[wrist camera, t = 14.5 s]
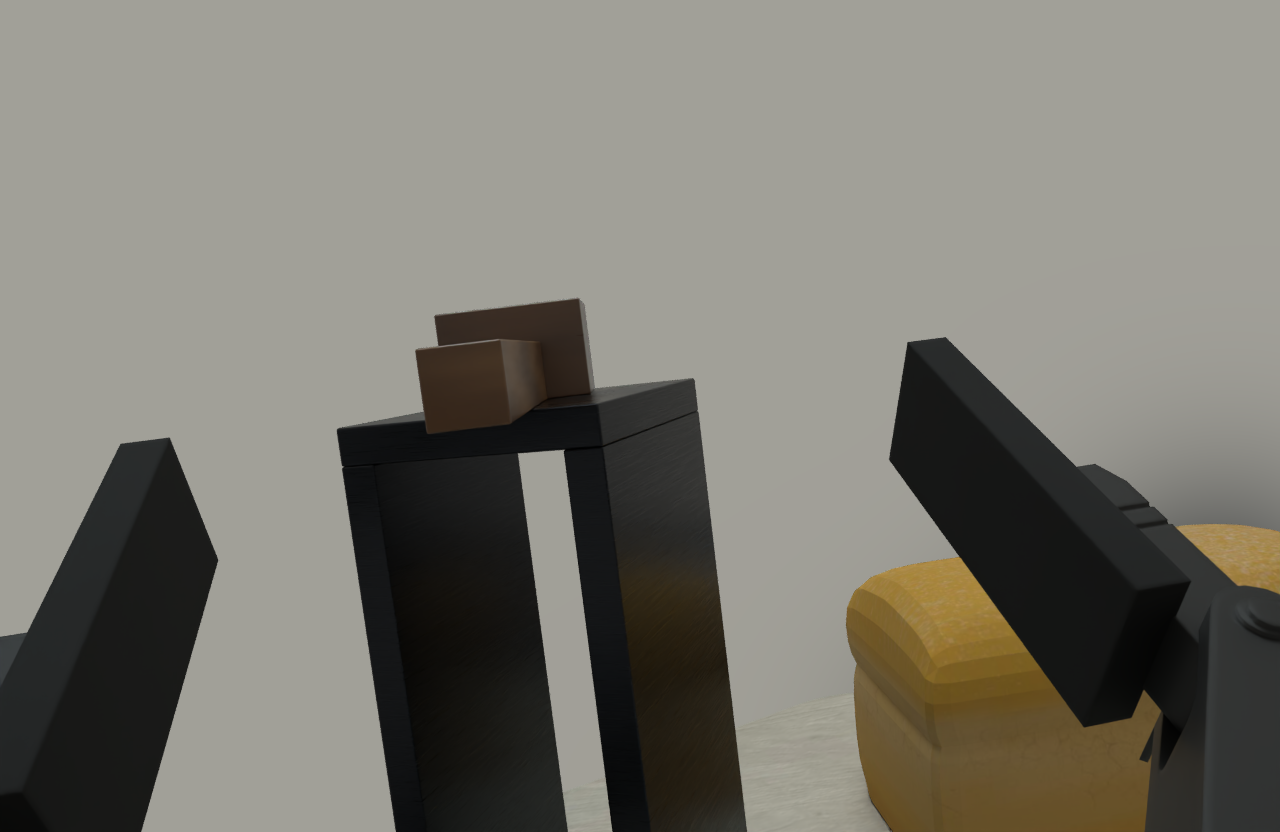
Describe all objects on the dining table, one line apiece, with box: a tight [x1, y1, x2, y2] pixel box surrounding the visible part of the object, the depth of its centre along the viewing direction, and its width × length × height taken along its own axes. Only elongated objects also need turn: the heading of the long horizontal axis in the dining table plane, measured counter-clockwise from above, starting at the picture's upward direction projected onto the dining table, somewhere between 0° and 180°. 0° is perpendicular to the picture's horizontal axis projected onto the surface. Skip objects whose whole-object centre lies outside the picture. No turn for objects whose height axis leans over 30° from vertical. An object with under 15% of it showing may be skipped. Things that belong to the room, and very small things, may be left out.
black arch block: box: [337, 378, 747, 832], centre depth 38 cm, size 11×11×27 cm
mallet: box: [415, 298, 595, 434], centre depth 33 cm, size 17×6×4 cm, turn 1°
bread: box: [846, 524, 1280, 832], centre depth 49 cm, size 24×13×15 cm, turn 95°
